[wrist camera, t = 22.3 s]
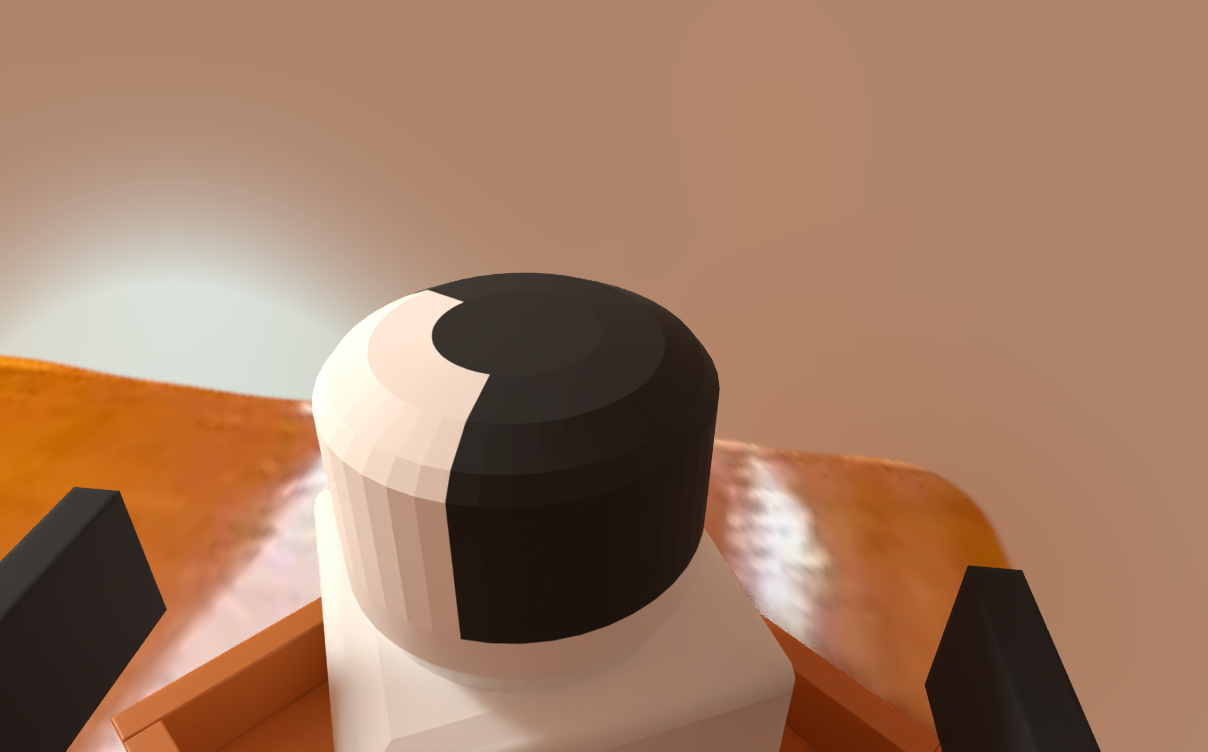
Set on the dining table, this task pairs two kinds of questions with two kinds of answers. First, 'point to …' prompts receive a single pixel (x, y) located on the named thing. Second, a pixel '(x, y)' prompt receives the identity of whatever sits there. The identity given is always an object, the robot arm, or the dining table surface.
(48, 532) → the robot arm
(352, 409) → the medicine bottle
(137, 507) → the dining table surface
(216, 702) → the amber tray
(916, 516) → the dining table surface
